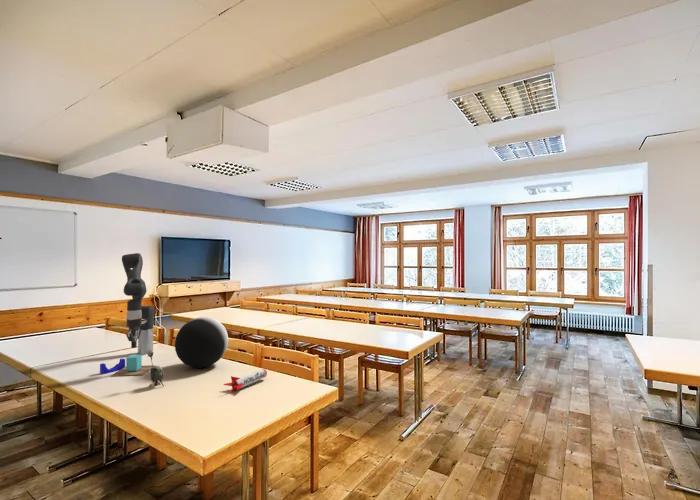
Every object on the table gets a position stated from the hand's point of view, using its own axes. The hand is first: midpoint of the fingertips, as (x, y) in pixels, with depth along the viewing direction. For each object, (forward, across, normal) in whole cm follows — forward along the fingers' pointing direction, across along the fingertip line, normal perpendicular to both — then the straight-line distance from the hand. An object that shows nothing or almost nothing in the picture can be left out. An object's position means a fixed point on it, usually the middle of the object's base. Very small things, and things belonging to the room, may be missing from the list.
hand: (133, 347), depth 200 cm
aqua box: (+13, 0, 0) cm, 13 cm away
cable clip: (+15, -3, -13) cm, 20 cm away
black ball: (+14, -7, +36) cm, 39 cm away
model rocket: (+15, +30, +71) cm, 79 cm away
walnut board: (+14, 0, 0) cm, 14 cm away
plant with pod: (+15, +26, +24) cm, 38 cm away
